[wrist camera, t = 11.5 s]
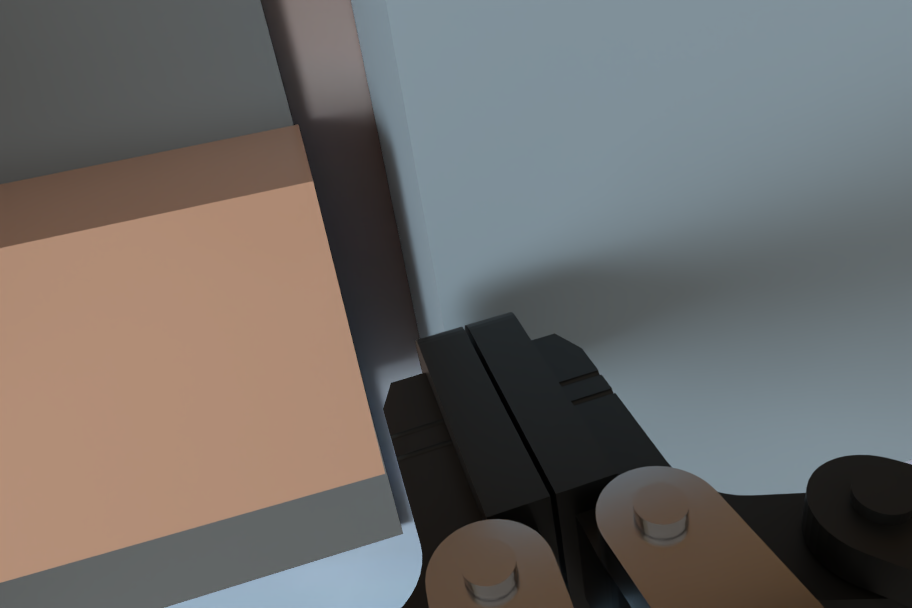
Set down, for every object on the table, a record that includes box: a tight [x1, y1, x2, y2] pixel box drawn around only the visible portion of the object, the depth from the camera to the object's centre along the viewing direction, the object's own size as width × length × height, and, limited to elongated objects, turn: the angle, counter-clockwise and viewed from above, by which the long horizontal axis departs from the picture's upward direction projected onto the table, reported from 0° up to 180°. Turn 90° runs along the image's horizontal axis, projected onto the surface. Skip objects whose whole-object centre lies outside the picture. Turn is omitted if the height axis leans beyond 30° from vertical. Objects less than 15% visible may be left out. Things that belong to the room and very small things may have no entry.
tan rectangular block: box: [0, 125, 385, 583], centre depth 13 cm, size 9×6×3 cm, turn 98°
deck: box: [351, 0, 912, 495], centre depth 15 cm, size 20×14×4 cm
